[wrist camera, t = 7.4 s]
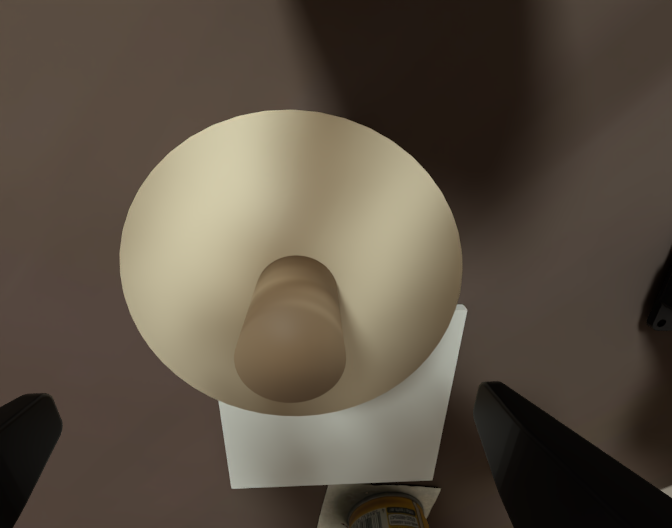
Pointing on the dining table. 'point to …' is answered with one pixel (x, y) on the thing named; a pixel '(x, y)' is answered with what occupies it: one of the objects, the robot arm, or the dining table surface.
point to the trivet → (350, 432)
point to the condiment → (377, 506)
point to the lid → (291, 263)
